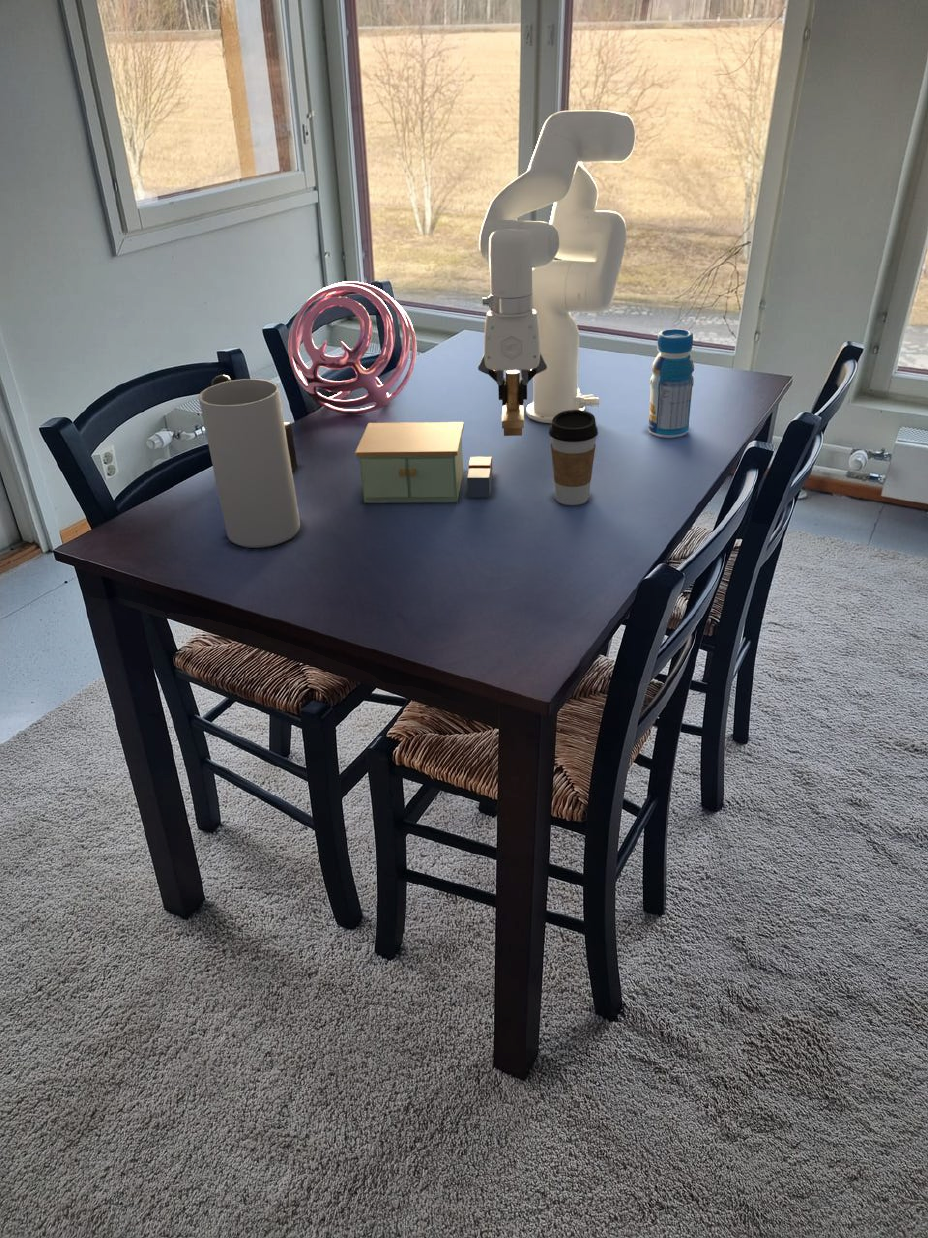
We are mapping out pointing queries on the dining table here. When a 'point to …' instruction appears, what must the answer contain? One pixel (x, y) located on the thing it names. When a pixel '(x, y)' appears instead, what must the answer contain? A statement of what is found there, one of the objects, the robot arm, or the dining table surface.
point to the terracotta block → (481, 463)
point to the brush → (512, 406)
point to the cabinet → (411, 462)
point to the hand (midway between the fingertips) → (513, 402)
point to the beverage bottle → (671, 384)
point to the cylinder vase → (251, 461)
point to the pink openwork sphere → (351, 350)
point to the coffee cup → (573, 455)
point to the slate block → (479, 482)
